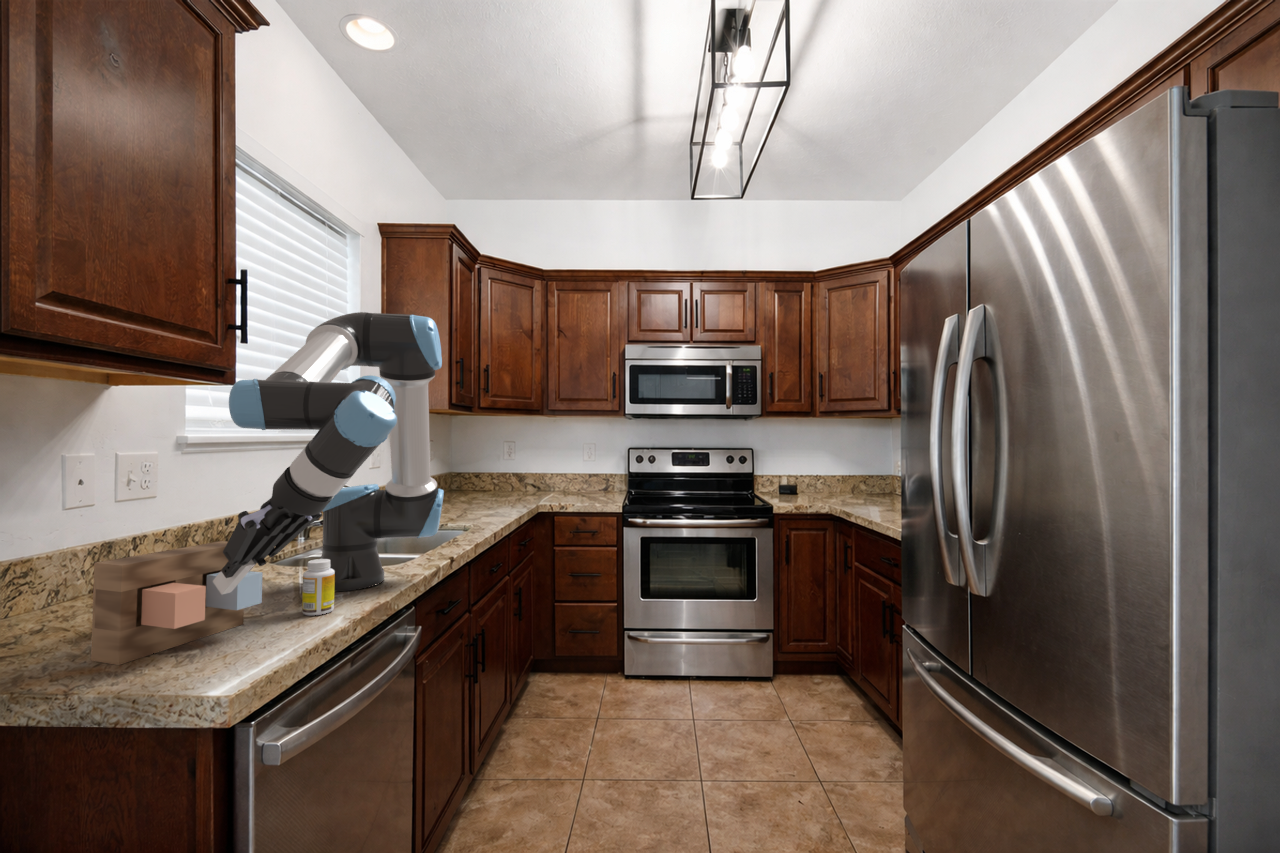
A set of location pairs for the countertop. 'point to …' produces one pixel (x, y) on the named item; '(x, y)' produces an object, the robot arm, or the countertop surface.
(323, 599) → the supplement bottle
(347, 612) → the countertop surface
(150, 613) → the terracotta button
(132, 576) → the brown wooden block
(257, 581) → the slate button
